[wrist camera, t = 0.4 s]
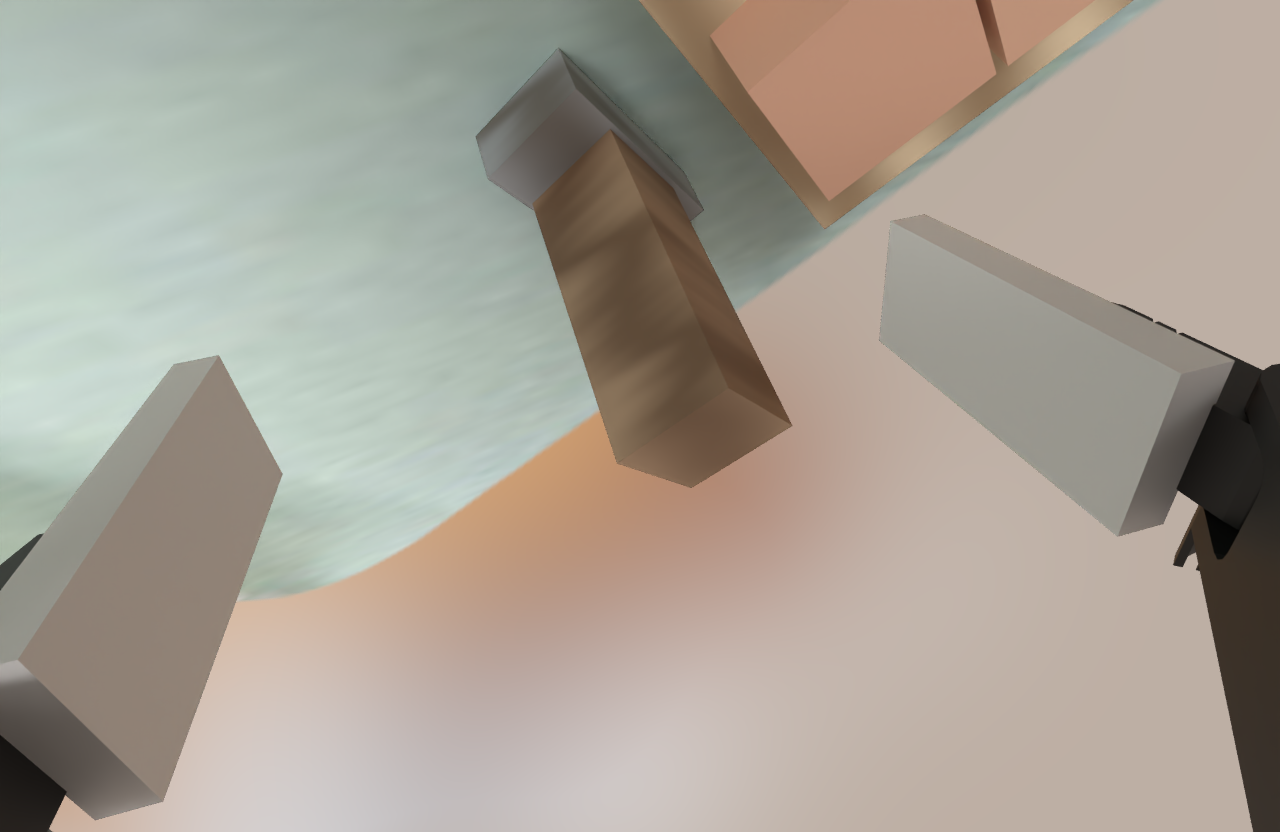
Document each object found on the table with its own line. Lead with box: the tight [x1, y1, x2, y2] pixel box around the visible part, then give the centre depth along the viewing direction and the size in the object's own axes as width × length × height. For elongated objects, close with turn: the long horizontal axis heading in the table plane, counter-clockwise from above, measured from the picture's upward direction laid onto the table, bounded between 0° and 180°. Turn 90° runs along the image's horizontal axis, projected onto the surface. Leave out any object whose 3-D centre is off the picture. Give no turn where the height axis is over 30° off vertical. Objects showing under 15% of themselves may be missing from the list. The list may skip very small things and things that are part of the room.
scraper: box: [476, 48, 792, 488], centre depth 23 cm, size 4×8×14 cm, turn 38°
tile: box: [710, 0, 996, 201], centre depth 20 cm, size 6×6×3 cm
